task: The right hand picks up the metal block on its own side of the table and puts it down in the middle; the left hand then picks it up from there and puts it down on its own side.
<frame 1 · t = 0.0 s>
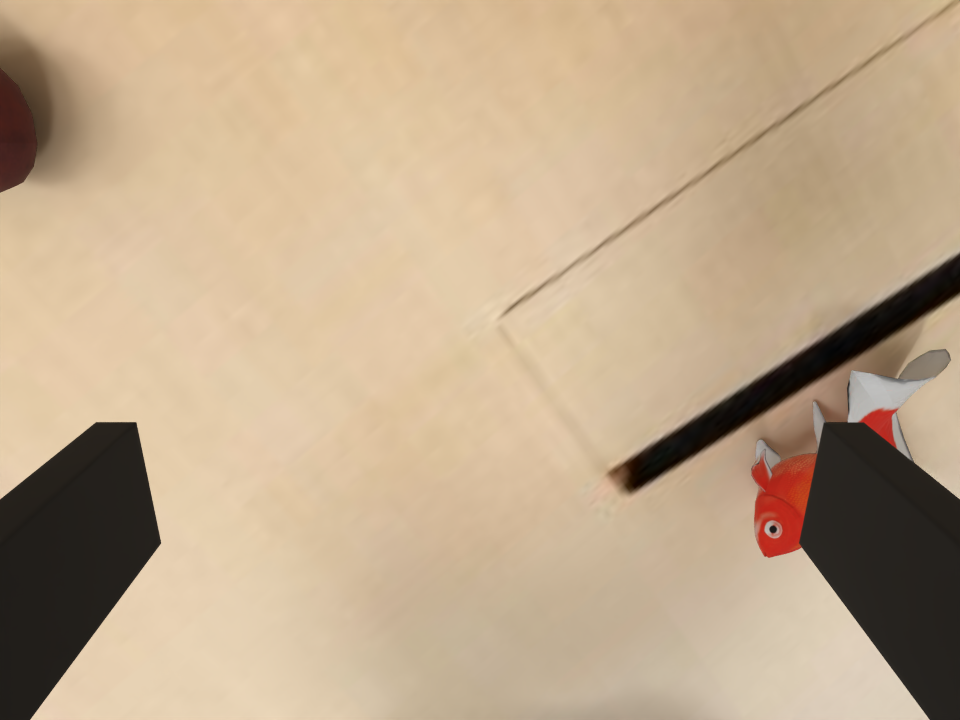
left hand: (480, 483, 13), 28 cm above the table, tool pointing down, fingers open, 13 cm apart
fish: (817, 419, 43), on the table
dark red ball: (0, 121, 37), on the table
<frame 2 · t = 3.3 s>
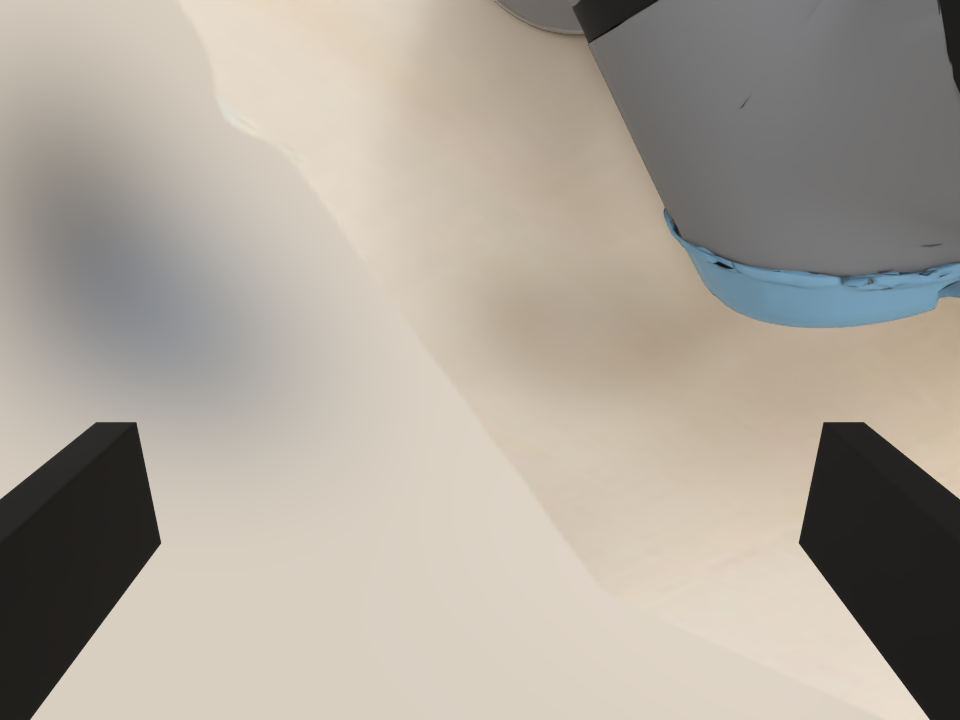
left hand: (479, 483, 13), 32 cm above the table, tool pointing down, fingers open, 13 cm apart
when the right hand's fingers open (3 cm above the table, at t = 10.6 s): metal block drops 1 cm, on the table.
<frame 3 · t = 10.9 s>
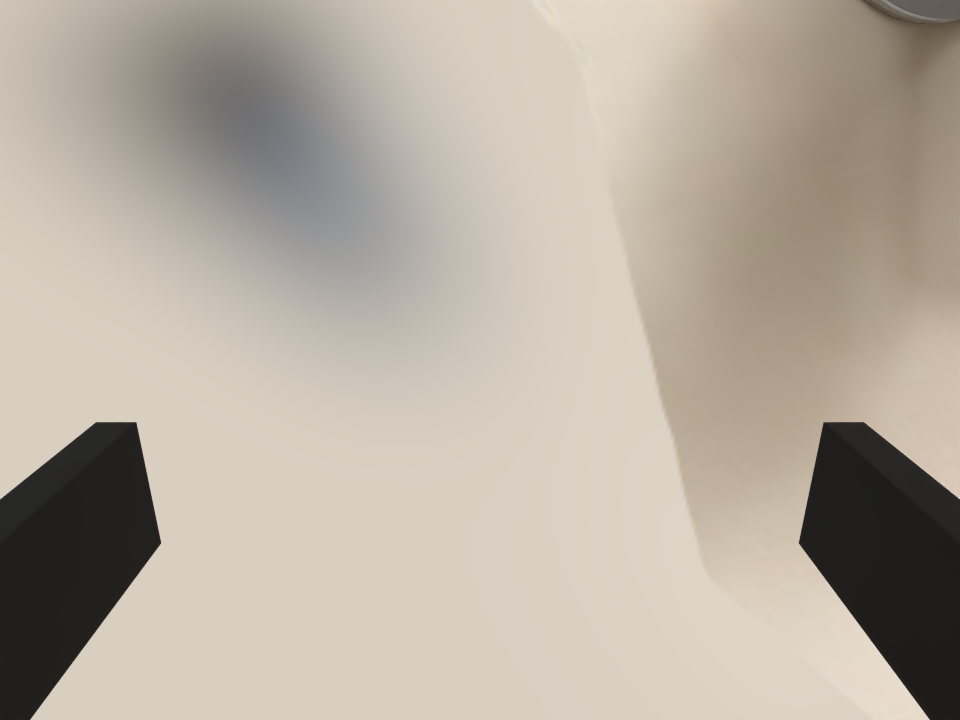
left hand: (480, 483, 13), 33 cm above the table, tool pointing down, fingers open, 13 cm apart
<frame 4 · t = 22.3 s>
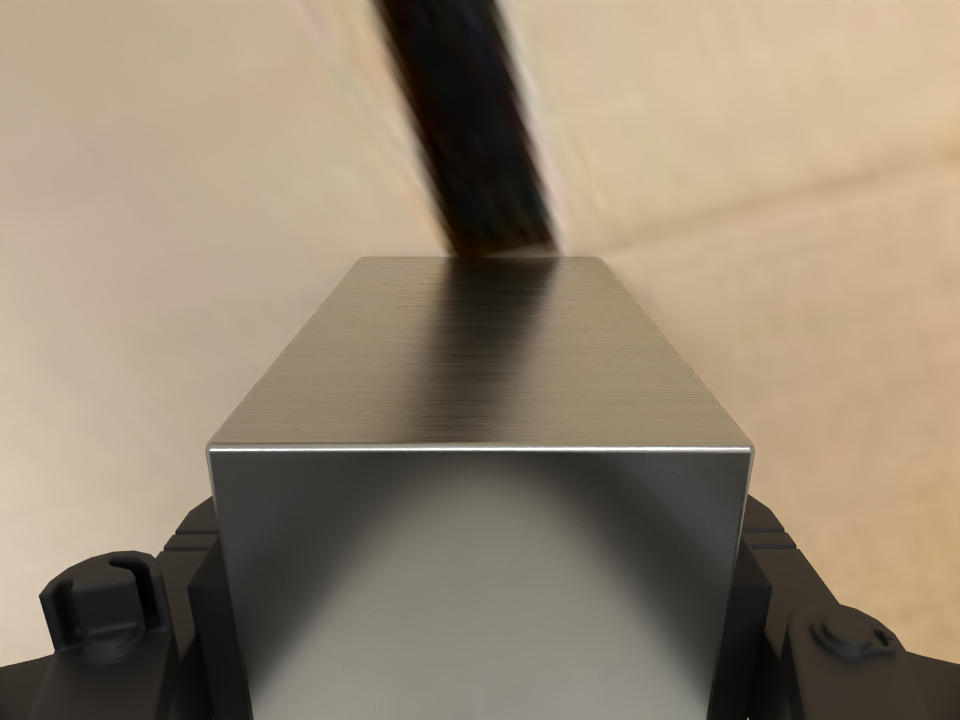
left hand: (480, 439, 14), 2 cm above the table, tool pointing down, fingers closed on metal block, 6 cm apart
metal block: (480, 397, 17), on the table, touching left hand
when the left hand's fingers open (3 cm above the table, at t = 29.4 s): metal block drops 1 cm, on the table.
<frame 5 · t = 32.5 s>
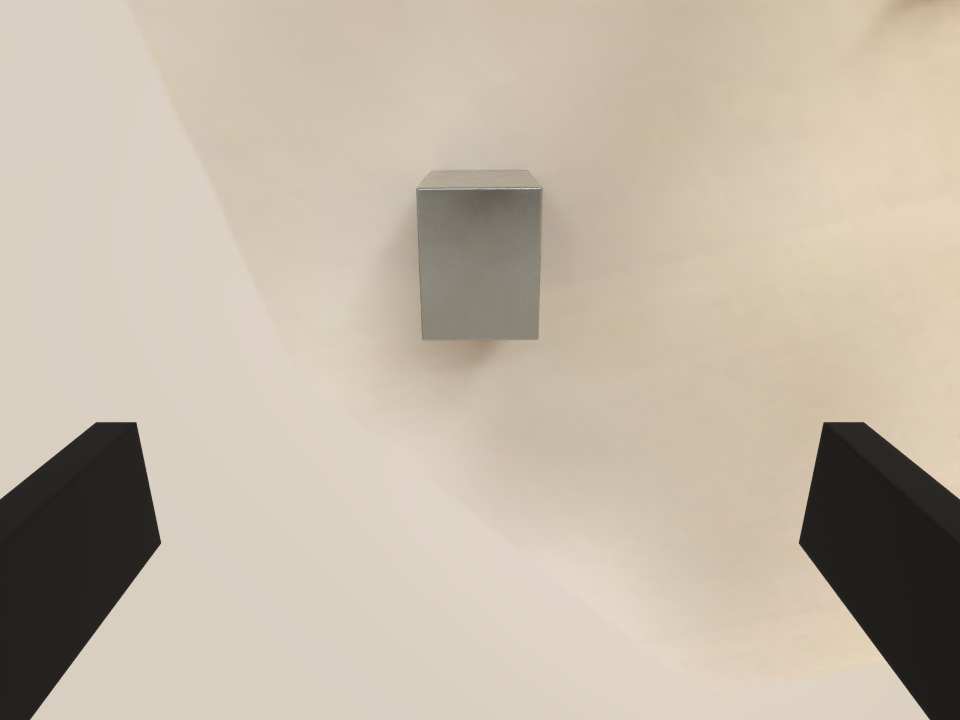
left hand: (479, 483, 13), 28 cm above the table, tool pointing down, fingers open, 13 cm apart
metal block: (479, 233, 39), on the table
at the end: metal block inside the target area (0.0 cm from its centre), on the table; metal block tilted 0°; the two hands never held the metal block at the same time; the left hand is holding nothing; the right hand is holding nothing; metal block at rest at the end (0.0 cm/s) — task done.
